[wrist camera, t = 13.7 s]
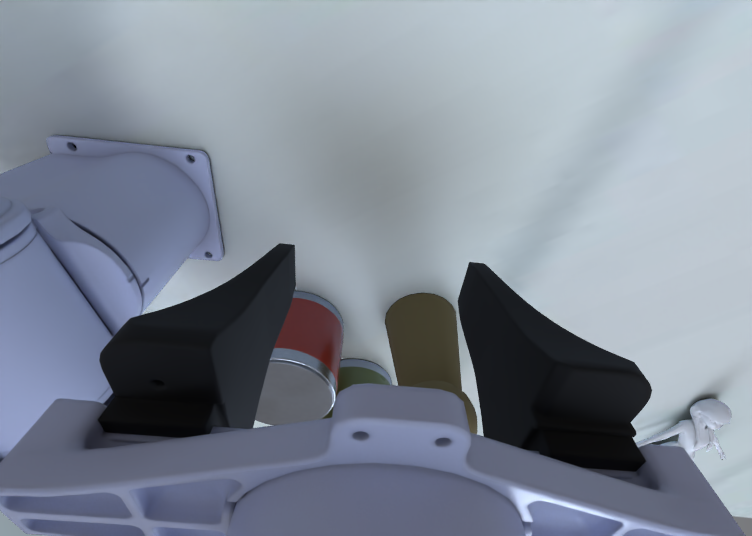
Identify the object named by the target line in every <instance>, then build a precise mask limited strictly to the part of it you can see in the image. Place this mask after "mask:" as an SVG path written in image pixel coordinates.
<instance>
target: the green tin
mask: <svg viewBox="0 0 752 536" xmlns="http://www.w3.org/2000/svg"><path fill="white" fill-rule="evenodd" d="M366 383H371V384H383V385H392V382H391V378H390V376H389V375H388V373H387V372H386V371H385V370H384V369H383V368H381V367H380V366H378V365H376V364H374V363H372V362H369V361H365V360H359V359H346V360H341V361H340V370H339V379H338V388H337V392H336V397H337V395H338V393H339V392H340V391H342V390H344V389H346V388H348V387H350V386H352V385H354V384H366ZM333 407H334V405H333ZM333 407H332V409H331V410H330V411H329V412H328V413H327V414H326V415H325V416H324V417H323V418H321V419H327V418H332V415H333Z"/></svg>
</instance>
